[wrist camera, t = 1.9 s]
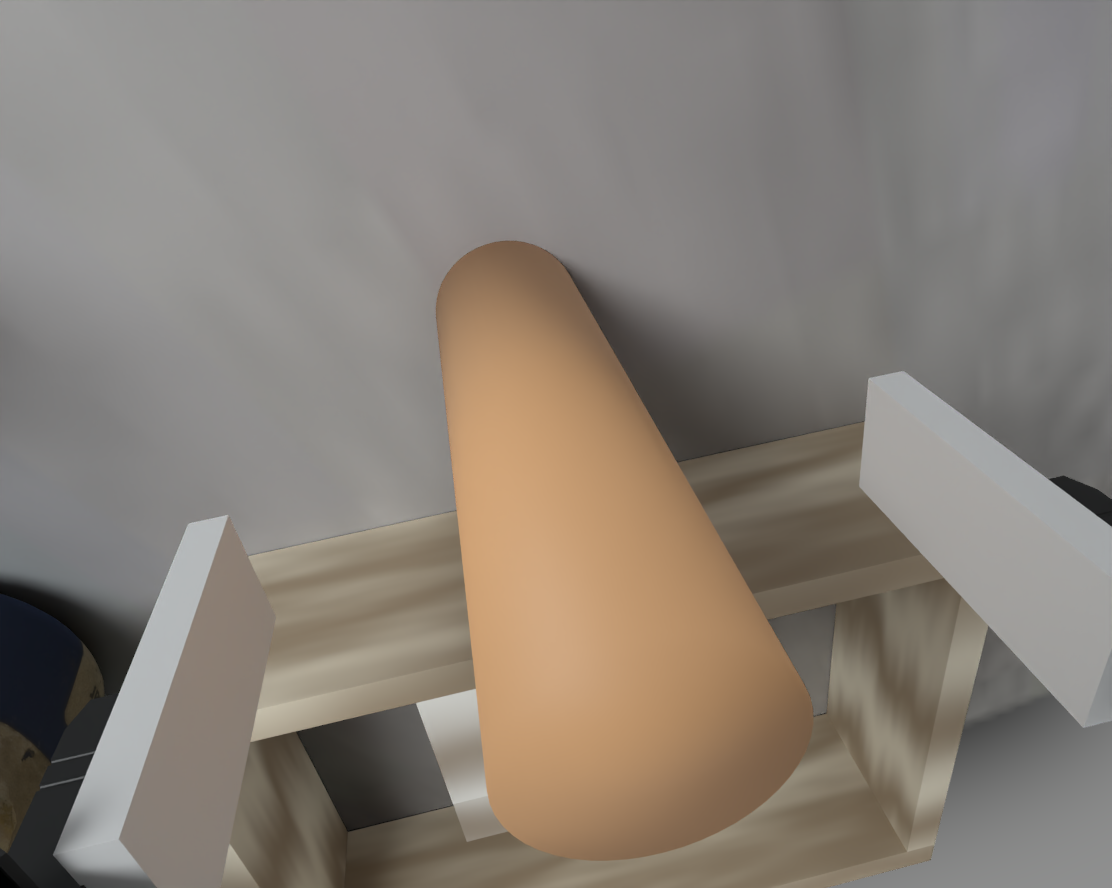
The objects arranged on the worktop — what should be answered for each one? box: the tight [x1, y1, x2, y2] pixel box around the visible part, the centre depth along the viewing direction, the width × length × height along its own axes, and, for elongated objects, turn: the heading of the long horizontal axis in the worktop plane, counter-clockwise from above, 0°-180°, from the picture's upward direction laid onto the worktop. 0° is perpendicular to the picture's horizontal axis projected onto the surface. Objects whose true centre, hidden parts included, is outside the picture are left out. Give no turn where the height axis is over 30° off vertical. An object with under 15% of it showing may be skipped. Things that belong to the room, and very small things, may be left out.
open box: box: [220, 422, 988, 888], centre depth 29 cm, size 18×26×7 cm
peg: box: [436, 241, 813, 861], centre depth 17 cm, size 4×4×16 cm
